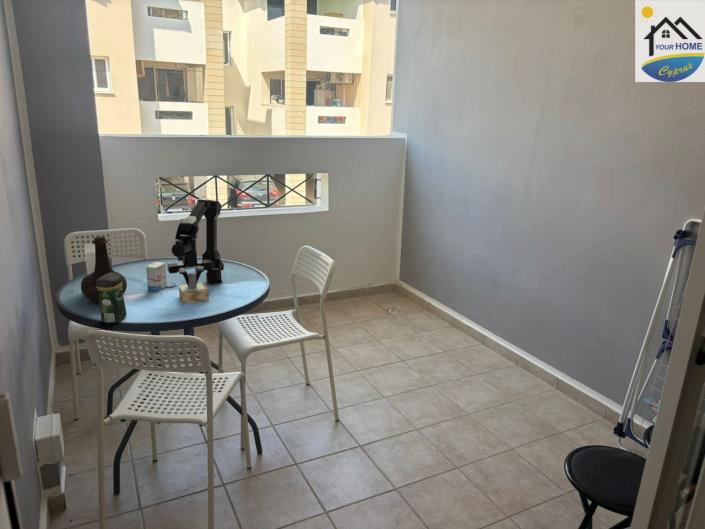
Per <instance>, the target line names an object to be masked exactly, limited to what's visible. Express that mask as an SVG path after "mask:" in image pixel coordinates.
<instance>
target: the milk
mask: <svg viewBox="0 0 705 529" xmlns="http://www.w3.org/2000/svg"><path fill="white" fill-rule="evenodd" d="M83 246H84V258H85V266H86V274H87V275H89V274H91V273H93V272H94V269H95V244H92V243H86V244H85V243H84V244H83ZM87 275H86V276H87Z"/></svg>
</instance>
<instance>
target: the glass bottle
mask: <svg viewBox="0 0 705 529" xmlns="http://www.w3.org/2000/svg"><path fill="white" fill-rule="evenodd" d="M108 243H109V240H106V237H105V236H95V237H94V238H93V240H92V242H91V244H95V269H94V272H93V273H91V274H89V275H86V276H84V277H83V278H82V279H81V281H80V282H81V284H80V291H81V293H82V295H83V296H84V297H85V298H86V299H87V300H89V301H91V302H92V303H98V304H100V298H99V292H98V289H97V282H96V280H97V279H99V278H100V277H102V276H104V275H106V274H108V273H119V274H120V275H121V277H122V290H123V295H124V294H125V293H126V291H127V287H128V282H127V279H126V277H125V276H124V275H123V274H122V273H120V272H117V271H115V270H114V269H113V267H112V264H111V260H110V257H109V253H108V247H107V244H108Z"/></svg>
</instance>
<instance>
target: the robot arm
mask: <svg viewBox="0 0 705 529" xmlns="http://www.w3.org/2000/svg"><path fill="white" fill-rule="evenodd" d="M221 210H222V203H221V202H220V201H219V200H213V199H208V198H198V199H197V201H196V204H195V205H194V207H193V209H192V211H191V212H190V214H189V215H188V217H186V218H183V219H182V220H181V221H180V222H179V224H178V225H177V230H176V234H175V237H174V239H175V243H174V244H173V245H172V247H171V253H172V255H173V256H175V257H176V258H177V261H178V262H181V263H182V264H180V265H179V264H178V263H177V262H174V263H168V264H166V266H167V271H168V273H169V274H179V275H182V276H183V278H184V280H185V282H186V284H187V285H188V286H189V281H188V276H187V274H188V272H187V270H188V269H194V271H195V272H194V274H195V276H196V283H199V280H200V278H201V274H202V273H203V272H205V271H206V272H205V281H206V282H207V283H208V284H209V285H213V284H220V283H223V280H222V271H224V268H225V264H224V262H223V261H222V259H221V254H220V252H219V251H218V245H217V243H218V237H217V236H218V234H217V233H218V231H217V230H218V222H217V220H218V218H219V216H220V215H221ZM203 217H204V218H205V233H206V234H205V239H206V240H205V243H206V244H205V246H206V249H205V251H204V253H202V255H201V259H202V260H201V262H198V254H197V253H198V252H197V250H198V249H197V239H198V236H197V235H198V232H199V230H200V227H199V223H200V222H201V220H202V219H203Z"/></svg>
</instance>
